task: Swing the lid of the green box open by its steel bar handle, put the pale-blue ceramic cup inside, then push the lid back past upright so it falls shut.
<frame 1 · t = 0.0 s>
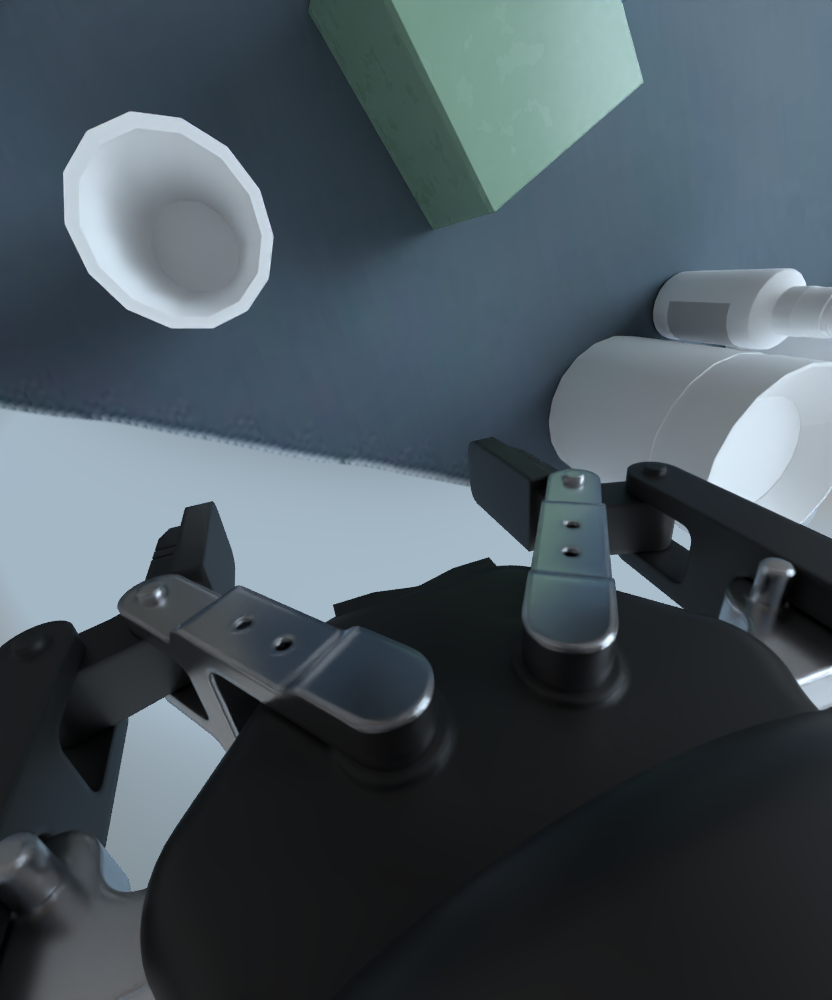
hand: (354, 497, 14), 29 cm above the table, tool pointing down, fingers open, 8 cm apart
green box: (439, 78, 35), on the table
spray bottle: (674, 305, 50), on the table
canister: (607, 407, 53), on the table
milk: (749, 374, 58), on the table
foam cup: (197, 248, 34), on the table
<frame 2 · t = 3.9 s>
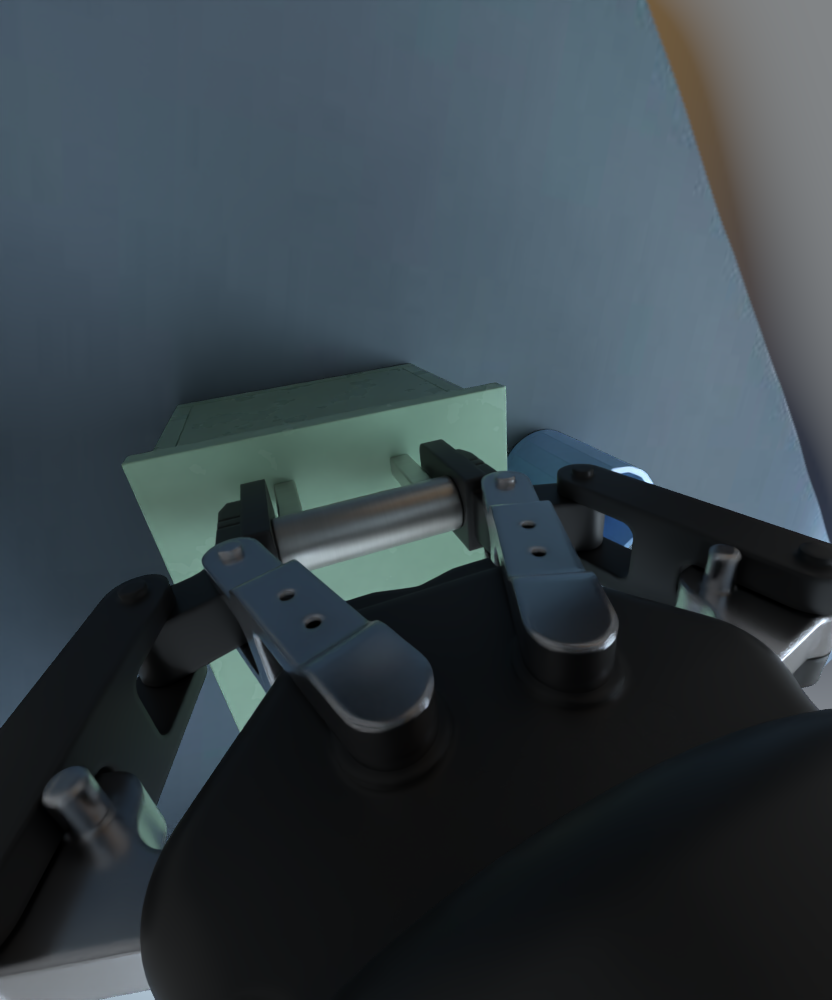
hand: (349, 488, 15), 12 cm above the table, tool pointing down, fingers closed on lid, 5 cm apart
green box: (329, 508, 28), on the table
cup: (538, 470, 32), on the table
lid: (384, 644, 17), point 13 cm above the table, hinge at -0.1°, touching gripper
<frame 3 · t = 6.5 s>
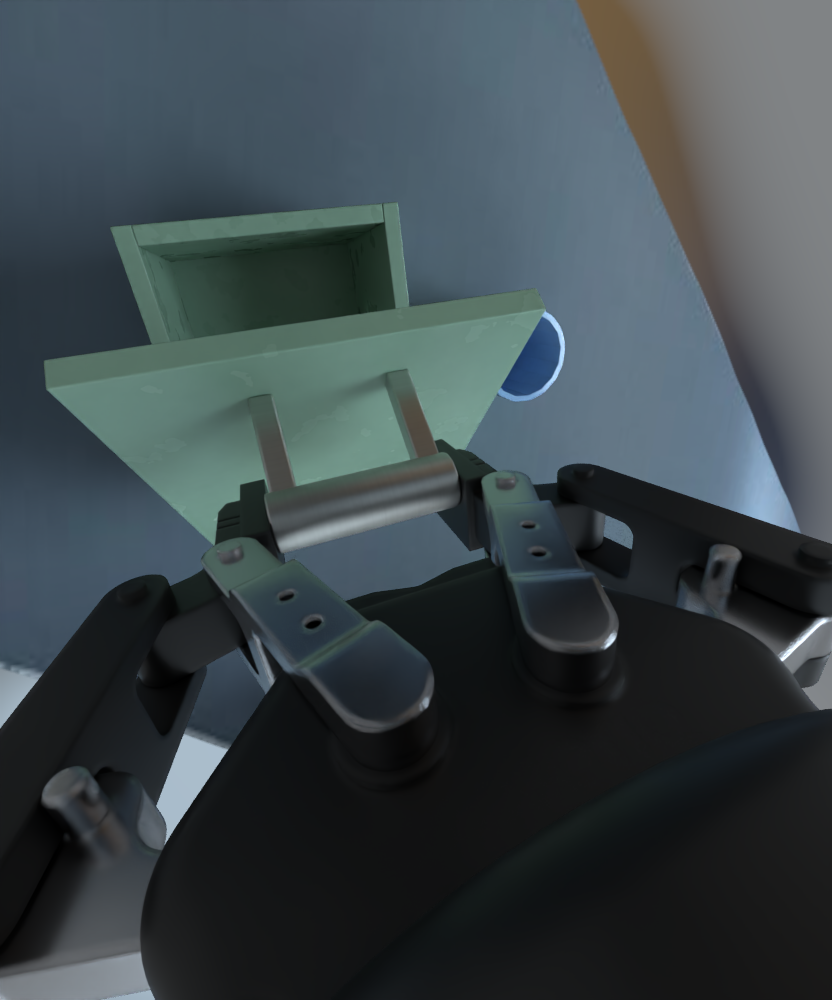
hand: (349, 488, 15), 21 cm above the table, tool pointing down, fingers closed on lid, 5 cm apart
green box: (288, 363, 33), on the table
cup: (476, 346, 37), on the table
lid: (345, 511, 19), point 18 cm above the table, hinge at 46.5°, touching gripper
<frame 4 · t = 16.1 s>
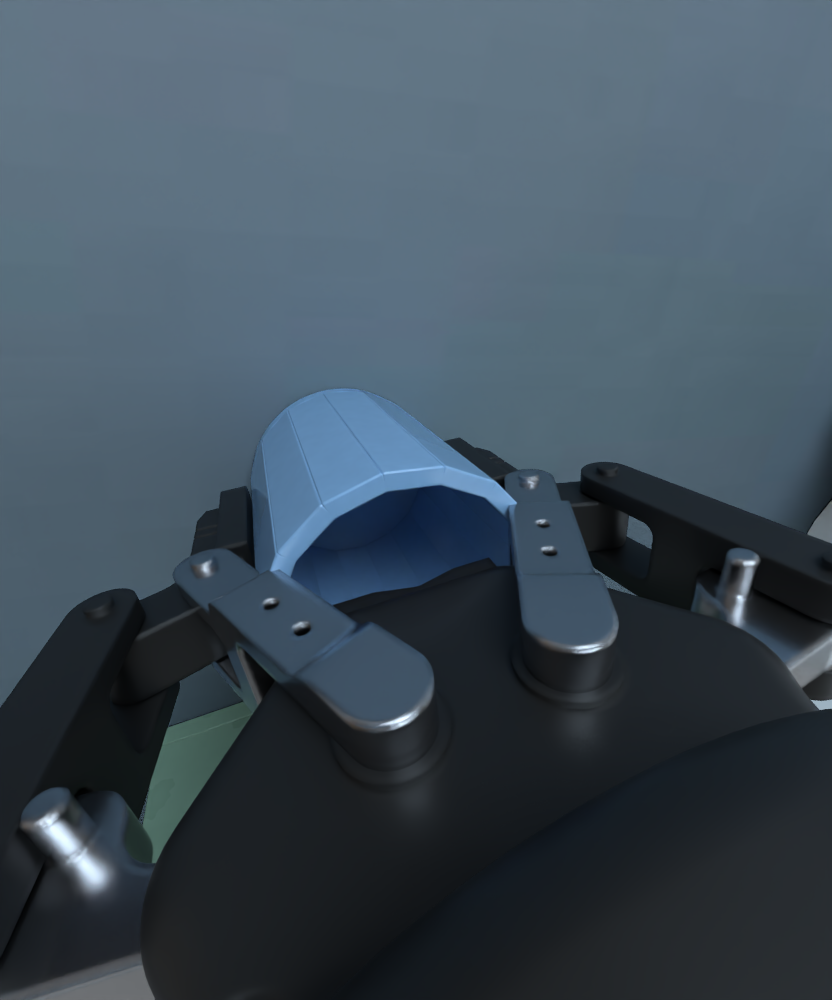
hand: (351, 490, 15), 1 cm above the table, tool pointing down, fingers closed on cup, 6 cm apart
green box: (376, 754, 22), on the table
cup: (343, 474, 16), on the table, touching gripper
when the fingers open (5 cm above the table, at t = 39.8 s): cup drops 3 cm, resting on green box.
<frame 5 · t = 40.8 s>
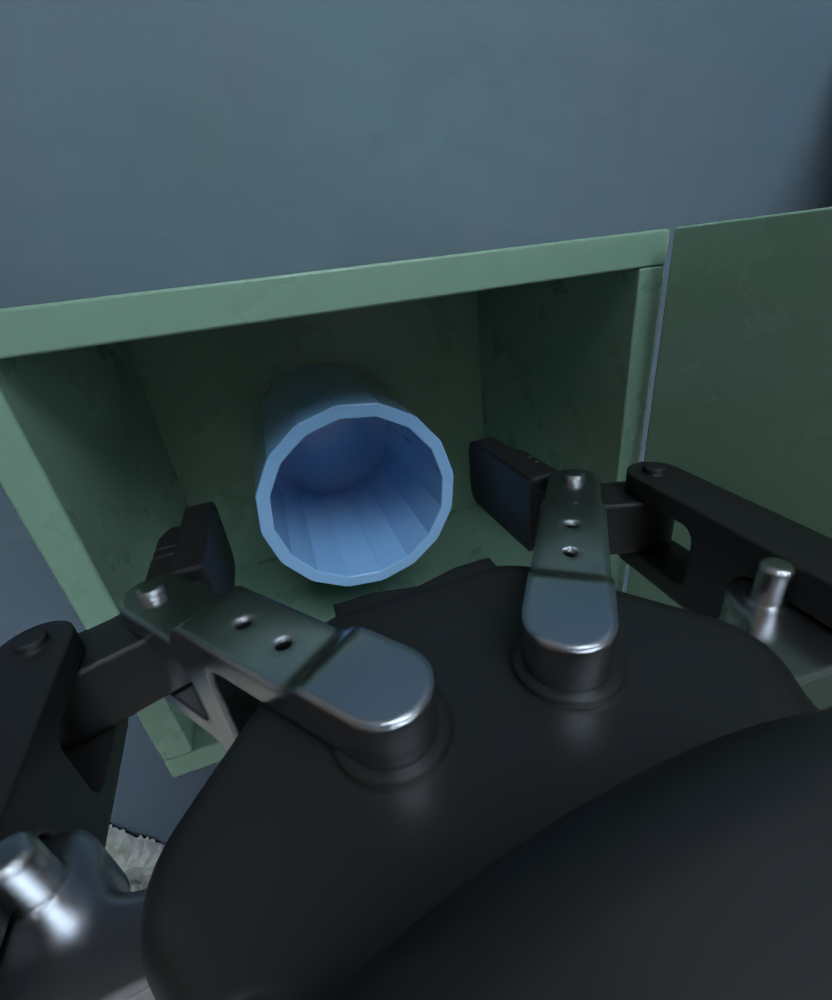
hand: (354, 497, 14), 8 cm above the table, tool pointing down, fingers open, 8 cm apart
green box: (336, 425, 21), on the table
cup: (326, 432, 20), point 1 cm above the table, touching green box
ceramic cottage: (70, 916, 29), on the table
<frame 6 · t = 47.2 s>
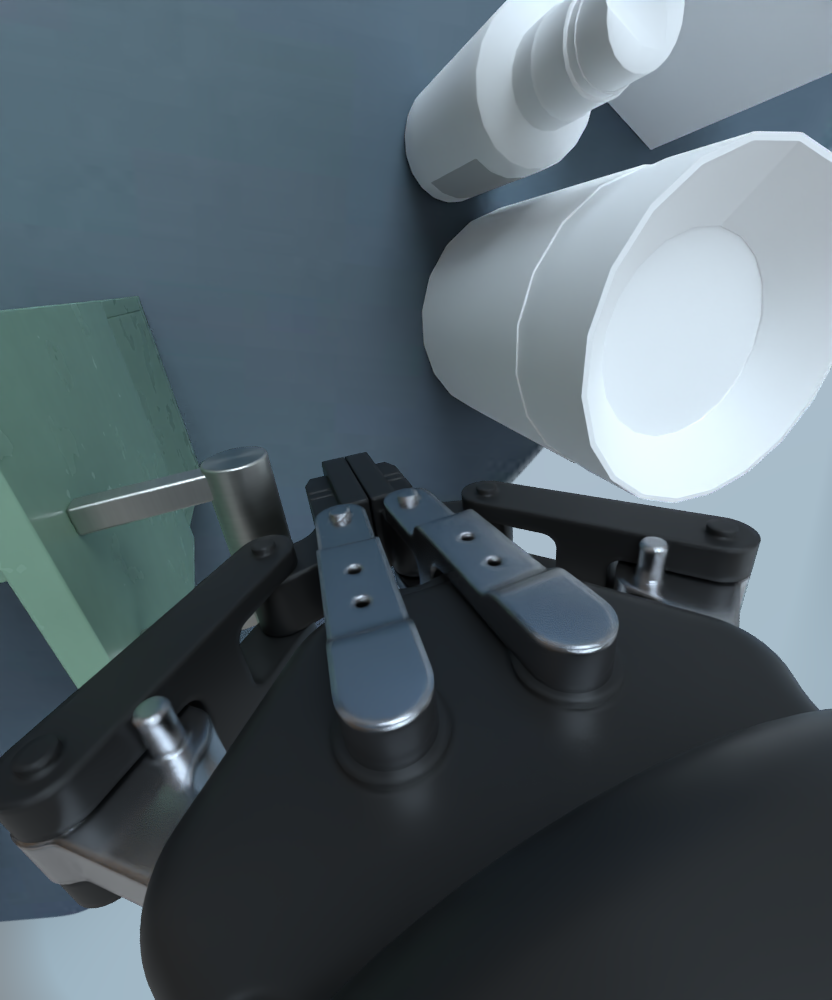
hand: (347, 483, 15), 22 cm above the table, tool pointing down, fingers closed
green box: (47, 414, 30), on the table
spray bottle: (448, 146, 32), on the table
lid: (190, 480, 17), point 19 cm above the table, hinge at 95.2°, touching gripper
canister: (510, 318, 38), on the table
milk: (644, 9, 32), on the table
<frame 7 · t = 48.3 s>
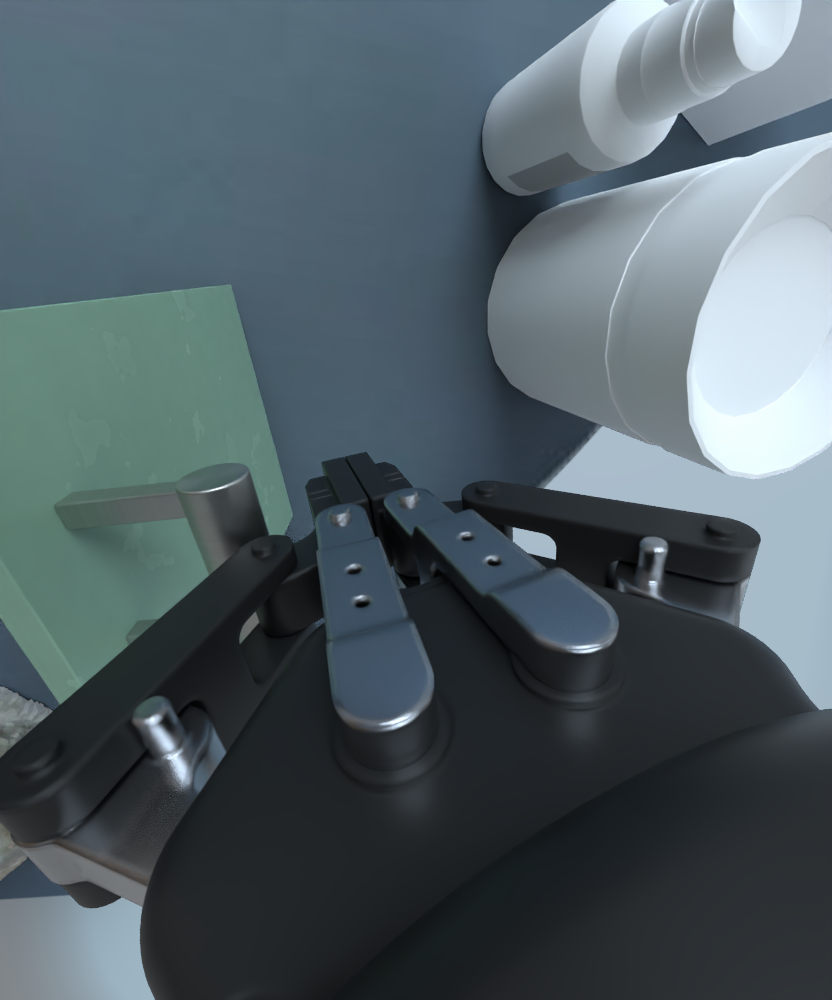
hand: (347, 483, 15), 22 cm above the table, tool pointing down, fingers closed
spray bottle: (520, 141, 33), on the table
lid: (250, 472, 17), point 19 cm above the table, hinge at 71.6°
canister: (568, 309, 40), on the table
milk: (708, 10, 33), on the table
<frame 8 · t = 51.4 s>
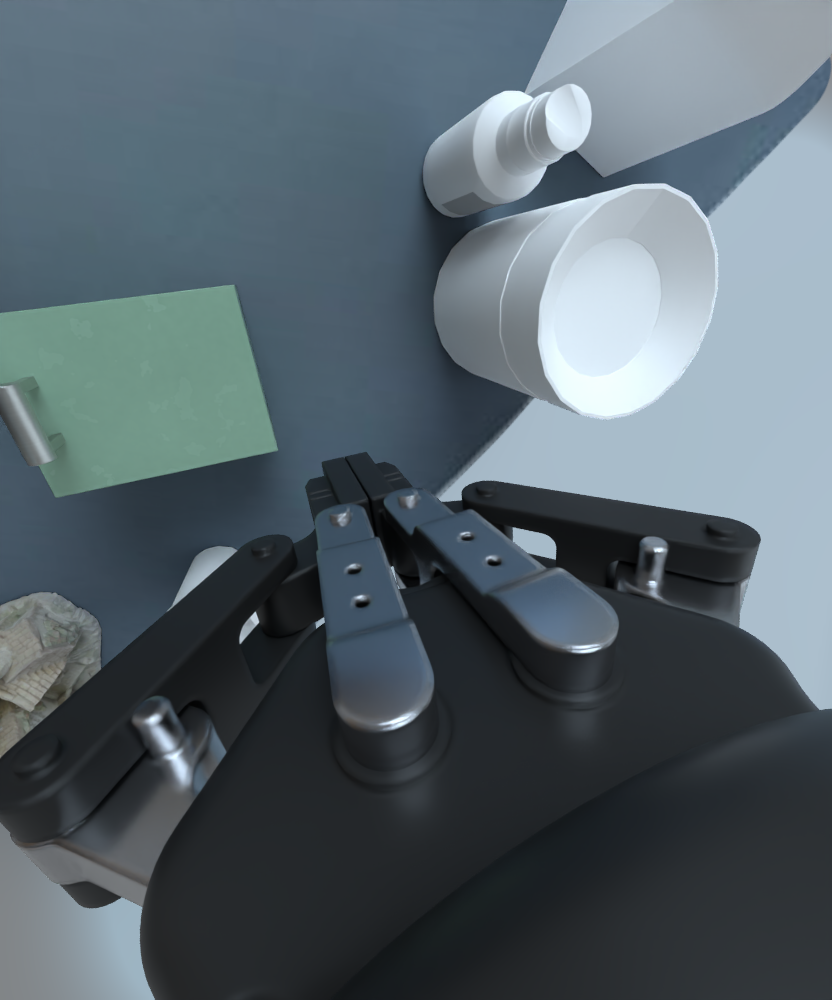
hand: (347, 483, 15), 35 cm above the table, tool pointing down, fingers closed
spray bottle: (453, 177, 44), on the table
lid: (137, 399, 31), point 13 cm above the table, hinge at -0.1°
canister: (499, 303, 51), on the table
milk: (594, 78, 45), on the table
ceramic cottage: (41, 661, 50), on the table
foam cup: (220, 568, 53), on the table
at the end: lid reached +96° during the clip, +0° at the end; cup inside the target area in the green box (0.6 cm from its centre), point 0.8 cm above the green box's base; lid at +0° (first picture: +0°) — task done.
